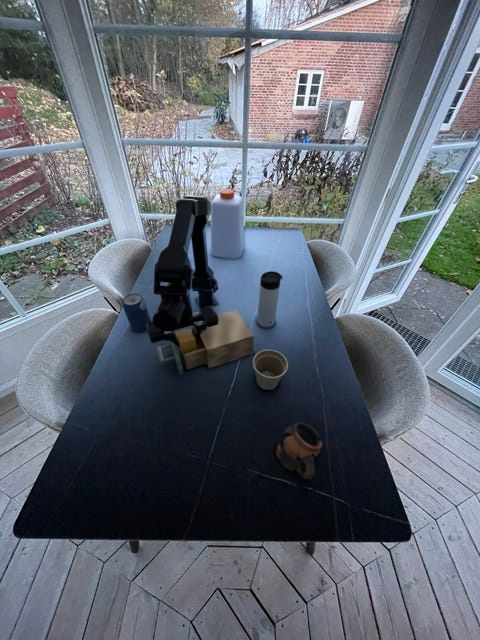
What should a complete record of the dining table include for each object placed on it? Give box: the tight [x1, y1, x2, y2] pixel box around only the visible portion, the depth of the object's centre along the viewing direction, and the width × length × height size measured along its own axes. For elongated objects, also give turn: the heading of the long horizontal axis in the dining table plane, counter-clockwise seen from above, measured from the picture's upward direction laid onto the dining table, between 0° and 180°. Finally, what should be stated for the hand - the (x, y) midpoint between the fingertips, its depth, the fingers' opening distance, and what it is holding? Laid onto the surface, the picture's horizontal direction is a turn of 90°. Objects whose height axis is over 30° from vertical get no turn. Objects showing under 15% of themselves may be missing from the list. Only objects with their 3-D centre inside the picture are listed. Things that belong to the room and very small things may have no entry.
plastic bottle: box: [210, 188, 245, 260], centre depth 121 cm, size 15×15×28 cm
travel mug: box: [256, 270, 283, 329], centre depth 88 cm, size 6×7×20 cm
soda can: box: [122, 293, 152, 332], centre depth 88 cm, size 7×7×12 cm
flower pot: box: [252, 349, 289, 391], centre depth 74 cm, size 9×9×9 cm
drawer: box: [155, 326, 208, 375], centre depth 79 cm, size 18×11×7 cm, turn 114°
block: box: [175, 328, 197, 354], centre depth 77 cm, size 4×4×4 cm
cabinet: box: [200, 309, 255, 369], centre depth 83 cm, size 15×13×9 cm
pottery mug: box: [275, 421, 323, 480], centre depth 60 cm, size 12×10×8 cm
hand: (186, 343), depth 78 cm, fingers closed on block, 4 cm apart
